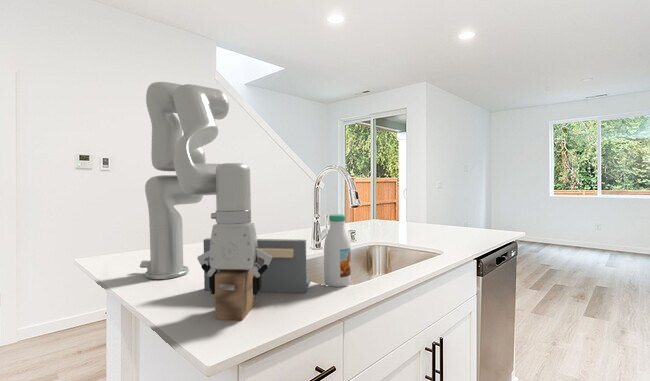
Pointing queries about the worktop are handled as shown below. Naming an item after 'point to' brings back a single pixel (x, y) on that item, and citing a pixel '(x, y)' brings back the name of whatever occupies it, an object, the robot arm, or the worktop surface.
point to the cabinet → (233, 294)
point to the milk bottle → (337, 253)
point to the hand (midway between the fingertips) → (235, 292)
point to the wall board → (278, 265)
